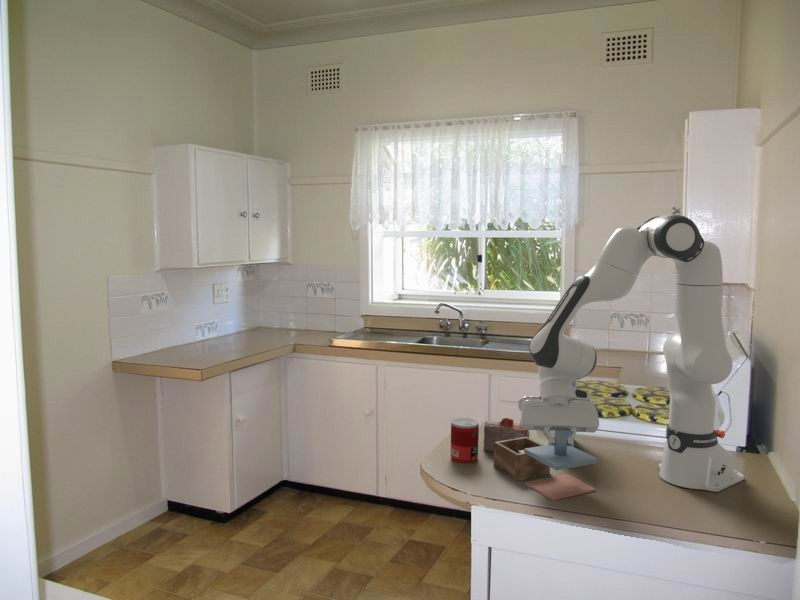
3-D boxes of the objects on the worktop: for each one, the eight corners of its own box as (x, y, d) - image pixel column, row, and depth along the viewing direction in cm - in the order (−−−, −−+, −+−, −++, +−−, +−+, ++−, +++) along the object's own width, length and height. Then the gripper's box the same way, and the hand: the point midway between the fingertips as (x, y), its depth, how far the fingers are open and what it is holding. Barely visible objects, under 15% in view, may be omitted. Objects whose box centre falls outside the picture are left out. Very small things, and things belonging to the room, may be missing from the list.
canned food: (476, 464, 185) (477, 427, 184) (448, 462, 187) (449, 425, 185) (479, 455, 192) (479, 418, 191) (452, 452, 194) (452, 417, 193)
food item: (529, 448, 199) (530, 416, 198) (528, 457, 191) (529, 424, 190) (484, 444, 202) (485, 413, 201) (481, 453, 194) (482, 421, 193)
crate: (525, 460, 189) (526, 436, 188) (549, 473, 179) (550, 449, 178) (493, 466, 184) (494, 442, 183) (516, 480, 174) (517, 455, 173)
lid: (563, 449, 177) (564, 420, 176) (596, 466, 166) (598, 435, 165) (524, 456, 172) (525, 426, 171) (555, 474, 160) (557, 442, 159)
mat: (567, 475, 178) (567, 473, 177) (595, 490, 168) (595, 488, 168) (525, 484, 172) (525, 482, 171) (551, 500, 162) (551, 498, 162)
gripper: (519, 390, 174) (521, 437, 166) (597, 393, 173) (603, 441, 164) (516, 401, 179) (518, 448, 171) (592, 404, 178) (598, 452, 169)
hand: (561, 445), depth 168 cm, fingers closed on lid, 3 cm apart
